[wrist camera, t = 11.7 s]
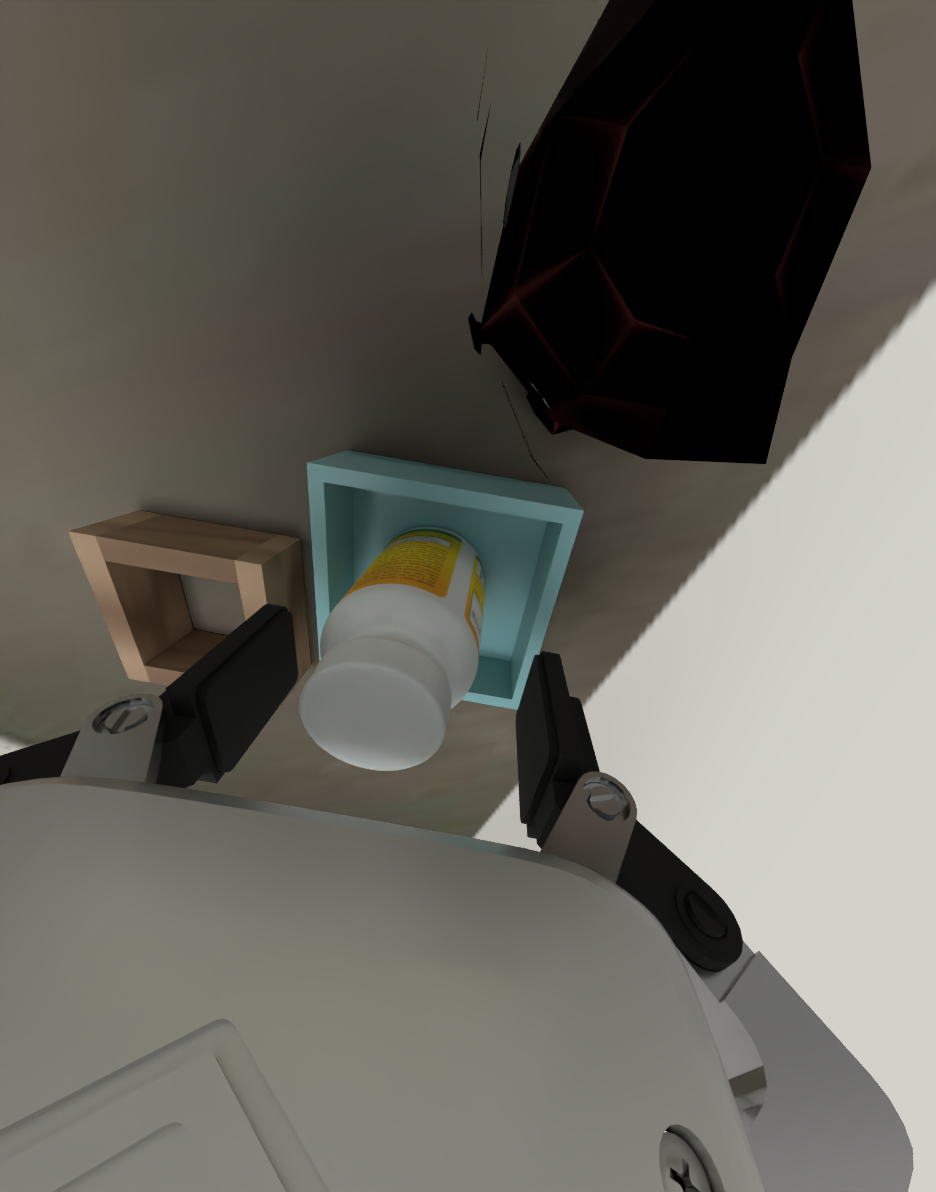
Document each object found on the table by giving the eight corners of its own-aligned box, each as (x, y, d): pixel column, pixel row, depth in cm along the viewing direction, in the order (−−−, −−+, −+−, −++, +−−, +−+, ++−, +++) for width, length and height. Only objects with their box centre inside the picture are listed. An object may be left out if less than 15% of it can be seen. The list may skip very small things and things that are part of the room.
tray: (348, 450, 16) (306, 462, 13) (566, 488, 16) (584, 510, 13) (350, 630, 21) (320, 675, 18) (517, 659, 21) (521, 710, 18)
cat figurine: (462, 256, 13) (289, -426, 2) (665, 179, 12) (2377, -2179, 1) (503, 457, 16) (509, 560, 5) (666, 414, 15) (1089, 438, 4)
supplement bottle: (508, 579, 18) (515, 737, 9) (434, 636, 20) (385, 809, 11) (430, 498, 16) (354, 601, 8) (359, 570, 18) (236, 713, 10)
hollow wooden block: (139, 510, 19) (68, 531, 16) (300, 538, 19) (261, 564, 16) (179, 641, 23) (128, 678, 20) (310, 664, 23) (281, 704, 20)
